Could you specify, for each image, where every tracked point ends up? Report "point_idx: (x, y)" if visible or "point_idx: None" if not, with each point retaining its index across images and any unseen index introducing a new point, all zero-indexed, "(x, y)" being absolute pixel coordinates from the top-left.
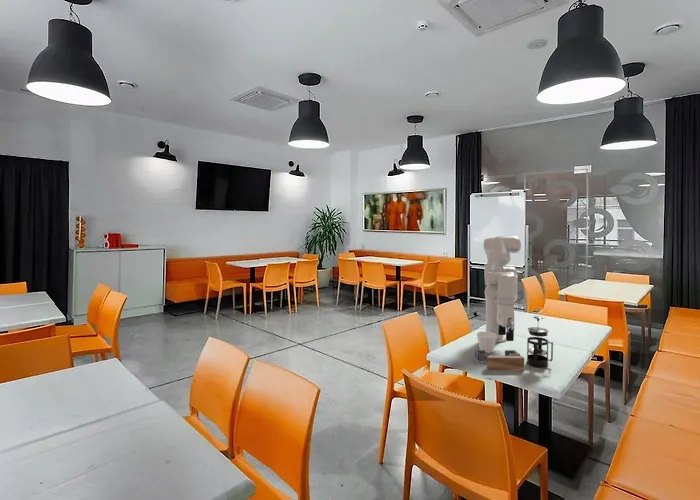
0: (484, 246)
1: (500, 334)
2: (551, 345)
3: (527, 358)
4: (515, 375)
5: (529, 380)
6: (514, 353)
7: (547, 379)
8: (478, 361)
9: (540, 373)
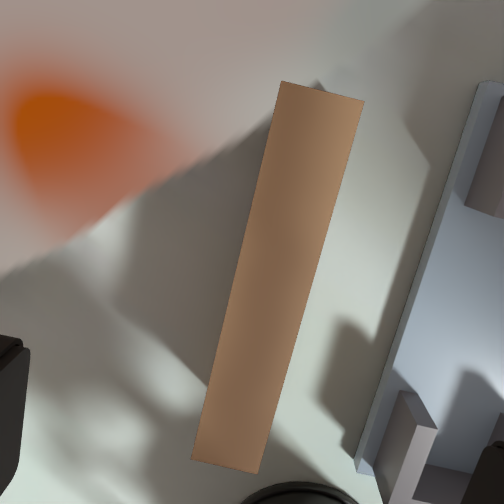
0: None
1: (479, 470)
2: None
3: None
4: (120, 260)
5: (11, 305)
6: None
7: None
8: (484, 89)
9: (128, 458)
